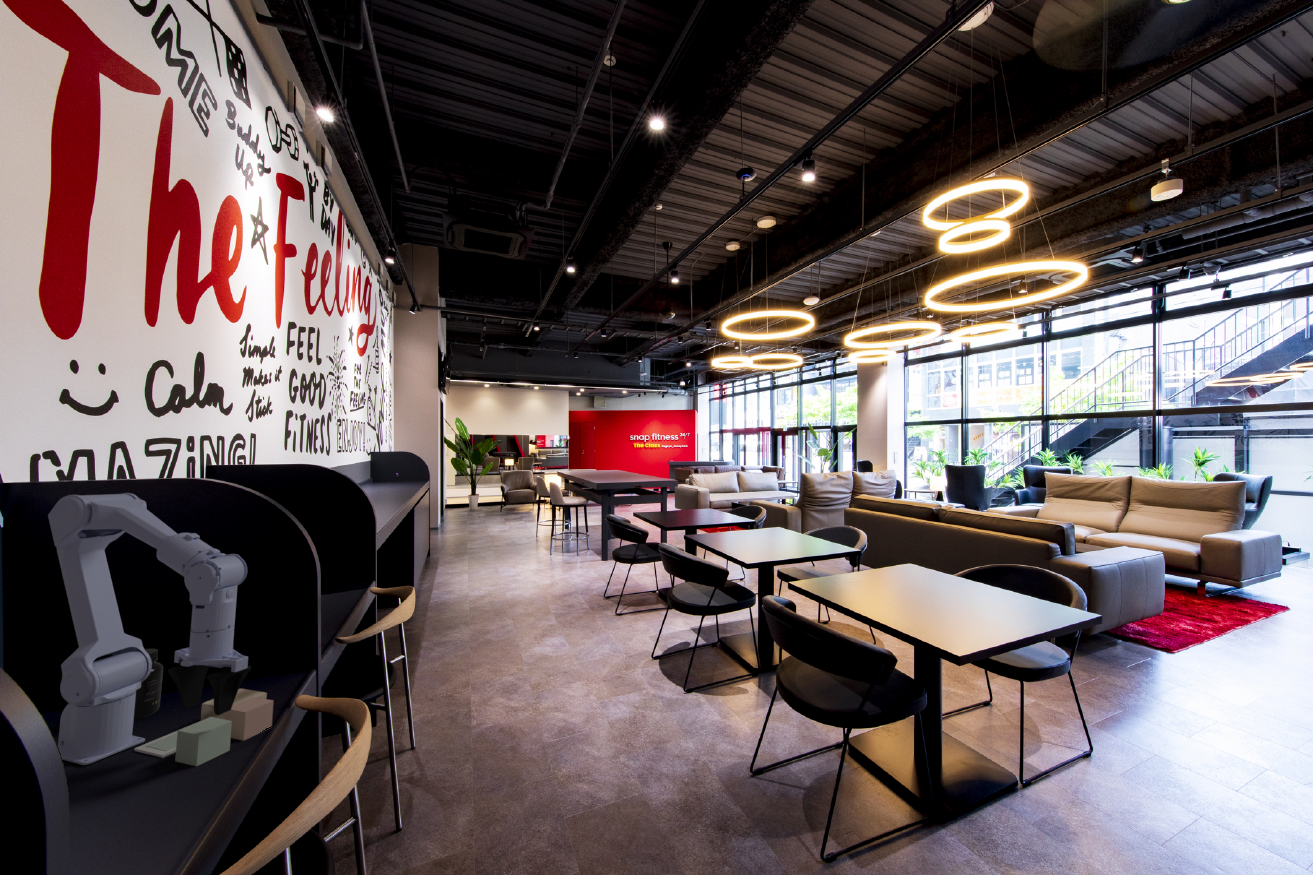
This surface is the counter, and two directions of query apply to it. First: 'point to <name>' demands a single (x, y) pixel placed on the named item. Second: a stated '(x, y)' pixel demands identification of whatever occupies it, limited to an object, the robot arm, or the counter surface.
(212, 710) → the maple block
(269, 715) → the terracotta block
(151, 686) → the supplement bottle
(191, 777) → the counter surface
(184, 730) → the sage block
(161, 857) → the counter surface
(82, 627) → the robot arm
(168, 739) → the card
